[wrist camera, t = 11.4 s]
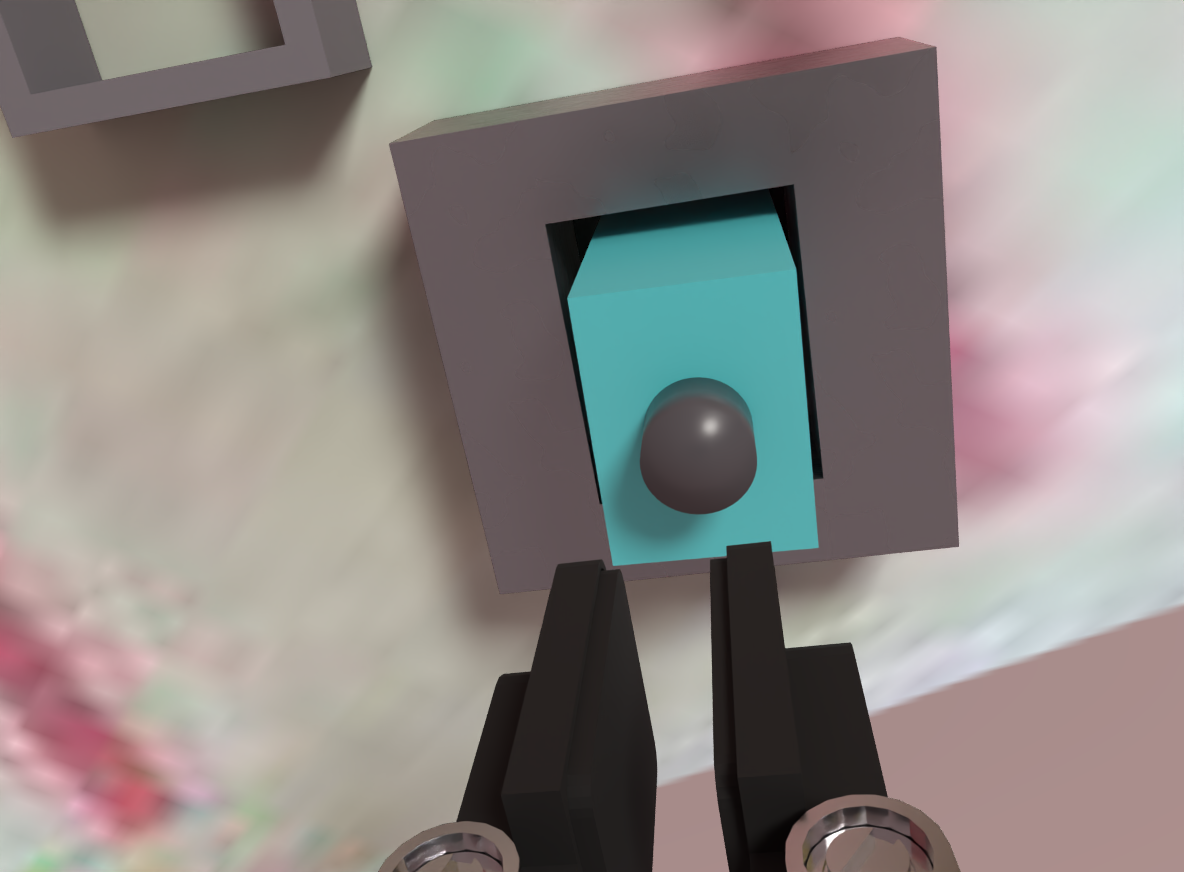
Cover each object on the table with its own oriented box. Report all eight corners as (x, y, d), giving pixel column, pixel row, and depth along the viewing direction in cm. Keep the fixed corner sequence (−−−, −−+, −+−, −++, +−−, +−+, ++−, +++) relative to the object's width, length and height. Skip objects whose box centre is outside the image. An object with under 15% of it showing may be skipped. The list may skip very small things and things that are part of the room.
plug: (767, 185, 25) (804, 292, 16) (786, 395, 27) (827, 589, 18) (604, 208, 25) (557, 324, 17) (635, 411, 28) (606, 607, 19)
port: (899, 36, 23) (935, 46, 20) (924, 471, 27) (959, 546, 24) (433, 120, 25) (389, 143, 21) (525, 517, 29) (500, 594, 26)
